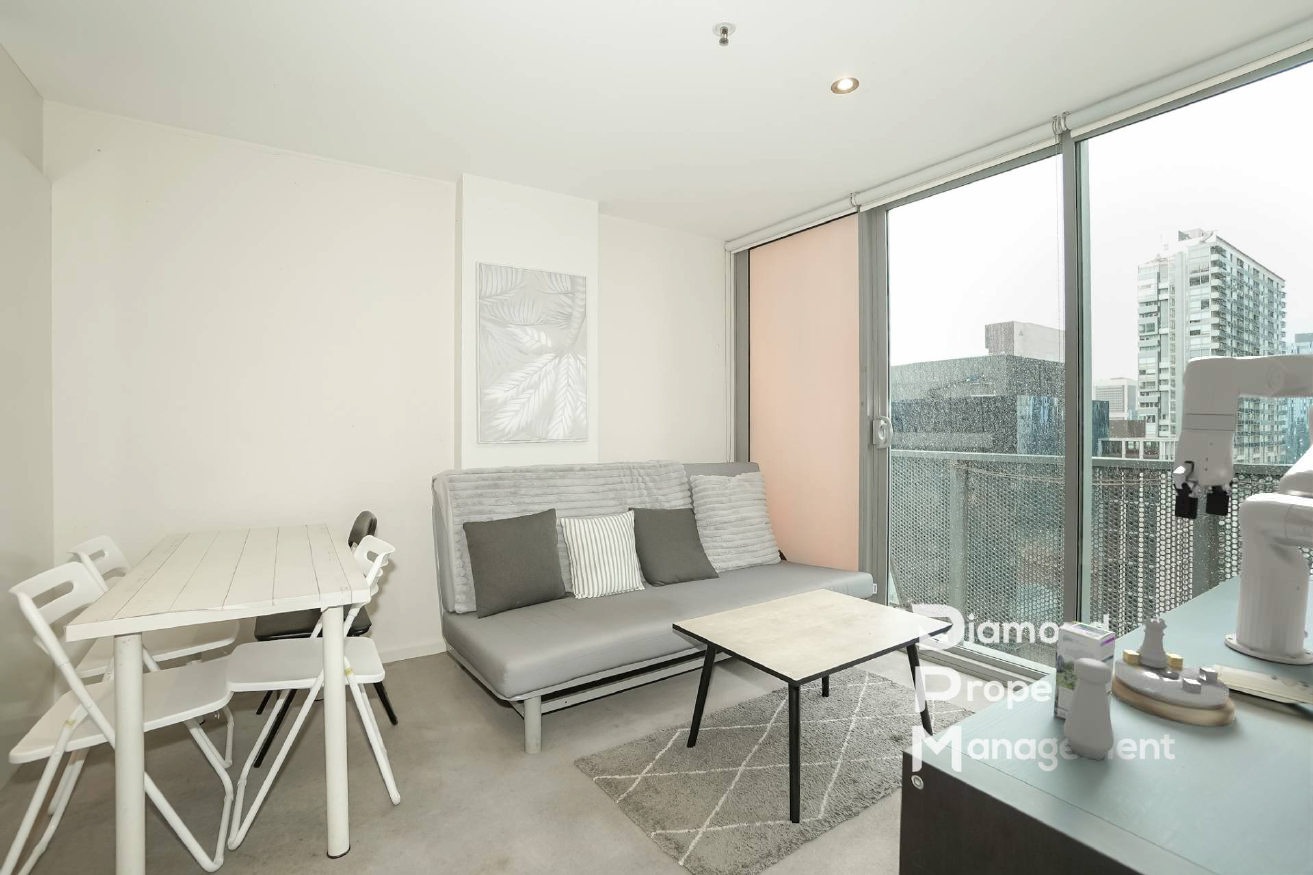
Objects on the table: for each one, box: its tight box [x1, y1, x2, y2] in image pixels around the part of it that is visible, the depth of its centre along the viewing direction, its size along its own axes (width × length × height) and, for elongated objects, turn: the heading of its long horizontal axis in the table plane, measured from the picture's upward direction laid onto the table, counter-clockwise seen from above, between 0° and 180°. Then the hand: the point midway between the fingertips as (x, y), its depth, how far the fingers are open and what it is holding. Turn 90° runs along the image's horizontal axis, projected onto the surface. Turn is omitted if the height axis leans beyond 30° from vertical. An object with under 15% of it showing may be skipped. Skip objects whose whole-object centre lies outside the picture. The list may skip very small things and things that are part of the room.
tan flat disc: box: [1111, 668, 1236, 727], centre depth 100 cm, size 16×16×2 cm
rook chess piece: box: [1135, 615, 1168, 669], centre depth 104 cm, size 4×4×8 cm
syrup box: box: [1053, 620, 1116, 721], centre depth 93 cm, size 6×6×14 cm
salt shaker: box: [1063, 658, 1115, 761], centre depth 85 cm, size 6×6×13 cm
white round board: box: [1114, 649, 1230, 710], centre depth 100 cm, size 14×14×4 cm
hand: (1201, 516), depth 112 cm, fingers open, 9 cm apart
